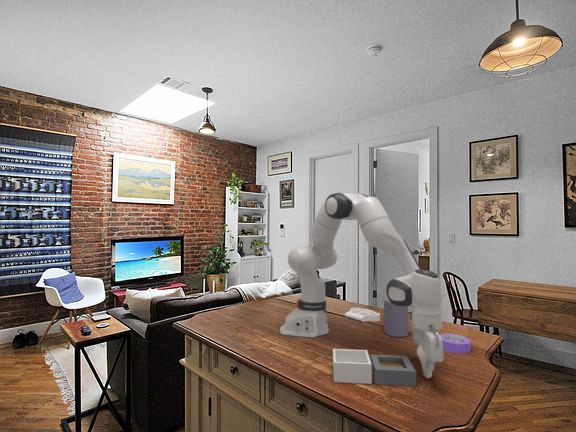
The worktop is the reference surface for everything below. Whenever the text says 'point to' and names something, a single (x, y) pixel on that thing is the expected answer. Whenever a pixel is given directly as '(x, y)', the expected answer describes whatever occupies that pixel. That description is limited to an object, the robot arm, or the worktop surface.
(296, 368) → the worktop surface
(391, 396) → the worktop surface
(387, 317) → the container
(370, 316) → the white brass knuckles
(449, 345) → the masking tape
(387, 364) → the contact pad
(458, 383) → the worktop surface
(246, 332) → the worktop surface
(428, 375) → the lightbulb
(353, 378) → the bin
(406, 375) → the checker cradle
